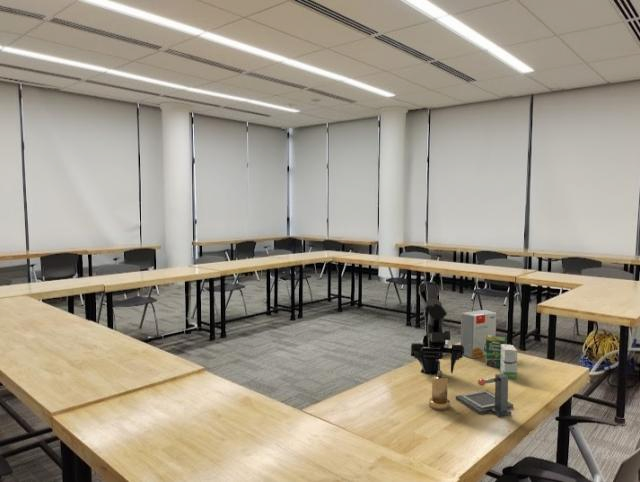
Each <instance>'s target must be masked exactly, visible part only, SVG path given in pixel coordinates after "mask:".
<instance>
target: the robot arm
mask: <svg viewBox="0 0 640 482" xmlns="http://www.w3.org/2000/svg"><path fill="white" fill-rule="evenodd" d="M439 294H440V285H439V284H437V282H435V281H424V282H423V283H421V284H419V286H418V295H419V296H420V300H421V302H422V303H423V305H424V307H423V317H424V325H425V326H424V327H425V328H424V329H425V331H424V332H425V334H424V336H423V338H422V339H423V341H422V340H421V341H422V343H421V342H417V343H416V342H413V343H411V344H410V357H413V358H414V359H417V361H418V362H419V364H420V365H421V370H420V372H421V373H424V374H428V375H432V376H433V375H436V374H438V371H441V361H440V360H442V359H443V356H444V355H443V353H446V354H450V373H451V374H453V373H454V369H455V363H456V362H457V361H459V360H460V359H463V357H464V355H463V354H464V347H463V345H460V344H452V345H451V347H449V348H445V347H444V346H445V340H448V341H450V340H451V332H450V330H445V331H444V329H443V325H444V321H445V317H446V316H447V311H446V309H445V307H443V305H442V301H440V300H438V296H439ZM437 295H438V296H437Z"/></svg>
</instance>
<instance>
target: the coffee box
mask: <svg viewBox="0 0 640 482" xmlns="http://www.w3.org/2000/svg"><path fill="white" fill-rule="evenodd" d="M501 344H506V345H507V337H505V336H498V335H497V336H490V335H487V336H486V356H485V360H486V362H485V364H486V365H485V366H489V367H495V368H500V364H501Z"/></svg>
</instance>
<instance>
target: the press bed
mask: <svg viewBox="0 0 640 482" xmlns="http://www.w3.org/2000/svg"><path fill="white" fill-rule="evenodd" d="M477 383H478V385H479V386H481V387H483V386H485V385H486V384H492V383H494V384H495V385H494V393H493V392H491V391H489V390H487V389H486V390H480V391H476V392H469V393H465V394H458V395H455V400H456V401H458V402H460V403H461V404H463V405H464V406H465V407H467V408H469V409H470V410H472V411H473V412H475V413H477V414H478V415H484V414H485V415H486V414H489V413H491V414H493V415H494V416H495V417H498V418H503V417H510V416H512V411H511V409H513V408H514V404H513V403H511V402H509V400H508V399H509V397H508V396H509V379H508V376H507V375H505V374H502V373H501V372H500V373H495V376H494V378H493V377H492V378H488V379H484V378H480V379H478V380H477Z"/></svg>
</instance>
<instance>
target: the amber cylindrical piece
mask: <svg viewBox="0 0 640 482" xmlns="http://www.w3.org/2000/svg"><path fill="white" fill-rule="evenodd" d="M431 377H432V378H431V397H430V398H429V400H428V403H429V404H428V405H429V408H430V409H431V410H433V411H438V412H447V411H449V410H450V409H451V401H450V400H449V398H448V385H449V384H448V382H449V381H448V378H449V377H448V376H447V375H445V374H443V370H440V371H438V373H437V374H436V375H433V374H432V376H431Z"/></svg>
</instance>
